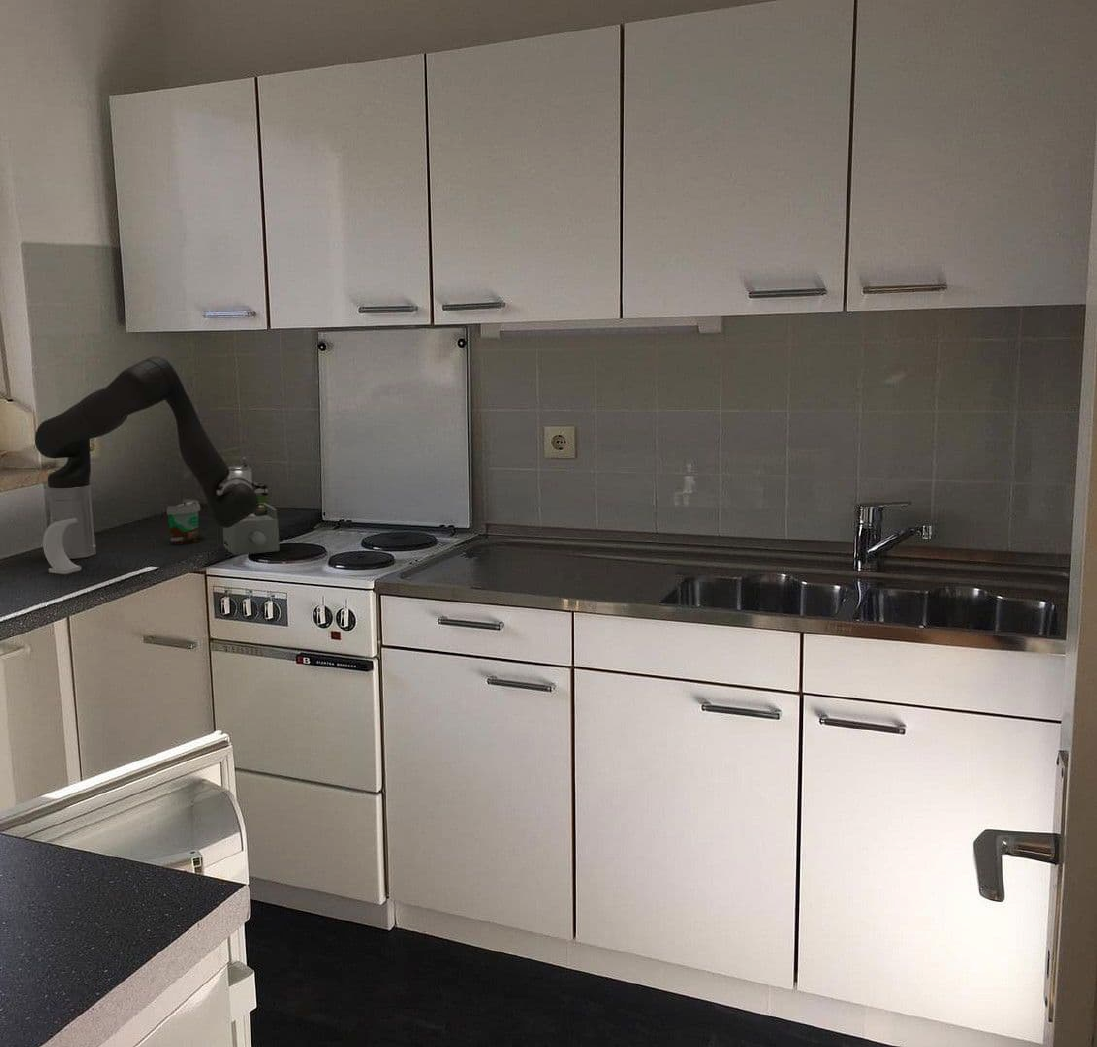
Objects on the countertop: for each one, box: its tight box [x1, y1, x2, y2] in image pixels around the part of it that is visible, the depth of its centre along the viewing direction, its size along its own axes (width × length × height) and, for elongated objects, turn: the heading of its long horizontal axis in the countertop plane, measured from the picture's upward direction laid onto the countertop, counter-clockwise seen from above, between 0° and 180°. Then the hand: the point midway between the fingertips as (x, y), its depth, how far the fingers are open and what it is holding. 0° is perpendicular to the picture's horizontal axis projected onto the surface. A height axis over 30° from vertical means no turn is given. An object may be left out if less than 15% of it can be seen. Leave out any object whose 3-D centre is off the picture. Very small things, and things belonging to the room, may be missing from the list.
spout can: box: [227, 456, 253, 514], centre depth 262 cm, size 6×6×14 cm
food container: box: [166, 499, 201, 545], centre depth 276 cm, size 12×6×10 cm, turn 179°
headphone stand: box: [42, 518, 82, 575], centre depth 241 cm, size 5×6×12 cm
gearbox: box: [222, 503, 281, 556], centre depth 264 cm, size 11×15×10 cm
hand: (240, 486), depth 264 cm, fingers closed on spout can, 5 cm apart
